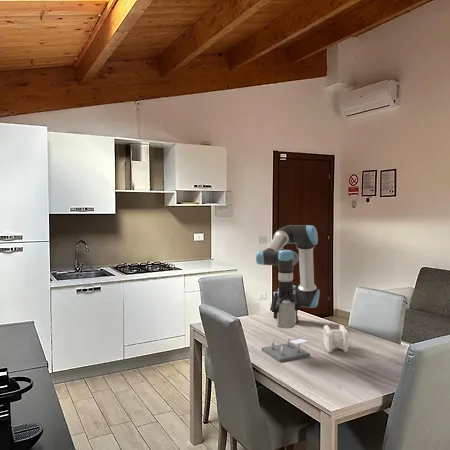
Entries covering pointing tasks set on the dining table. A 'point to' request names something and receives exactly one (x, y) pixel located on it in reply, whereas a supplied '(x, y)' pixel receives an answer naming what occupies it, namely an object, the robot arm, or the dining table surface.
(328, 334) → the cable organizer
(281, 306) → the gray cylinder
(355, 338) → the dining table surface
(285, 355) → the pin tray
